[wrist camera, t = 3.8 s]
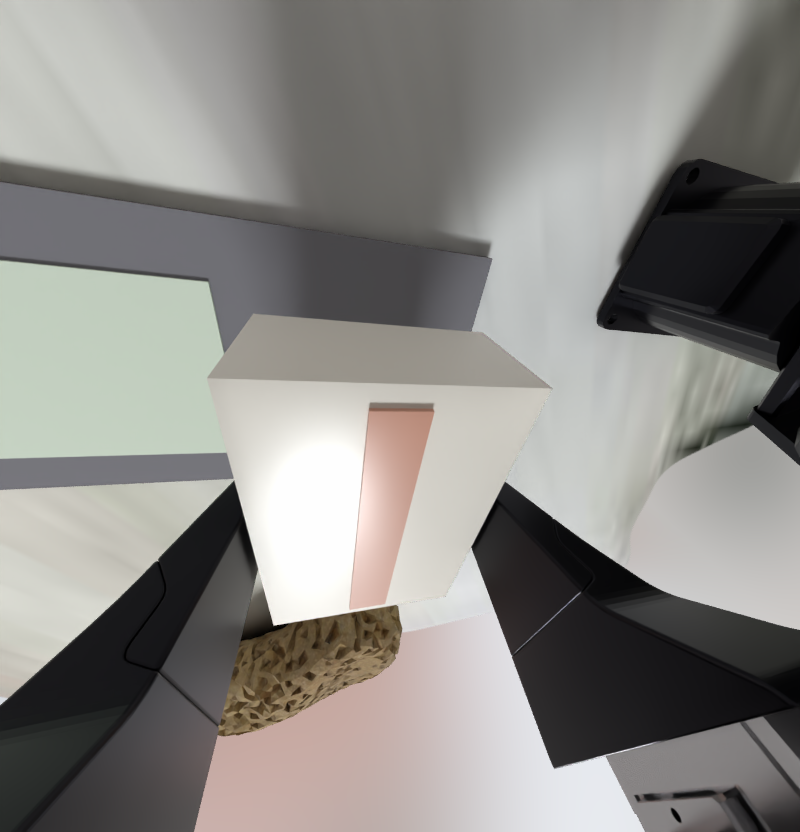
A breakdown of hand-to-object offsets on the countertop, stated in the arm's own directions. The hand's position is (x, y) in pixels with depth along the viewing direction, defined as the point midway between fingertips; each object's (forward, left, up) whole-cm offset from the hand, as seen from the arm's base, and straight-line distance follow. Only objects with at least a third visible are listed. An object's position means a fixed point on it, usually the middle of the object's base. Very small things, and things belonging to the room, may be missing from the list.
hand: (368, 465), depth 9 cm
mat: (+6, 0, -6) cm, 8 cm away
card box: (0, 0, -1) cm, 1 cm away
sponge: (+4, +27, -6) cm, 28 cm away
